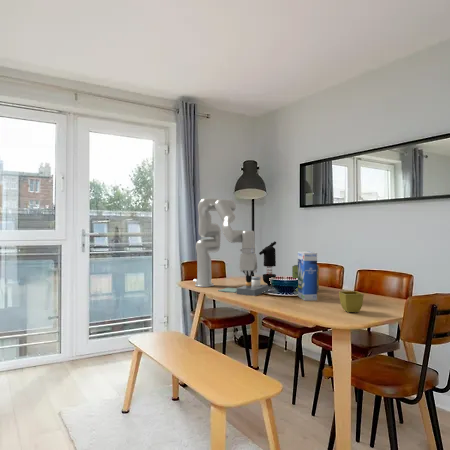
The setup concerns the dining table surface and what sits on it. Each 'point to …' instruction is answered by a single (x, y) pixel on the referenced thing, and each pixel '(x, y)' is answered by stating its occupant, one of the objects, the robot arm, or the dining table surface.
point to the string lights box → (307, 275)
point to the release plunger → (248, 285)
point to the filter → (269, 261)
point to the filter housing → (252, 290)
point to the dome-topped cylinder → (255, 281)
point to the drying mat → (229, 290)
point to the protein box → (295, 274)
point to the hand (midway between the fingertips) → (248, 282)
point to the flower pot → (351, 300)
